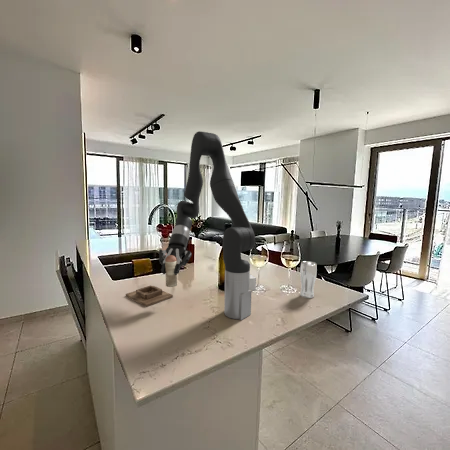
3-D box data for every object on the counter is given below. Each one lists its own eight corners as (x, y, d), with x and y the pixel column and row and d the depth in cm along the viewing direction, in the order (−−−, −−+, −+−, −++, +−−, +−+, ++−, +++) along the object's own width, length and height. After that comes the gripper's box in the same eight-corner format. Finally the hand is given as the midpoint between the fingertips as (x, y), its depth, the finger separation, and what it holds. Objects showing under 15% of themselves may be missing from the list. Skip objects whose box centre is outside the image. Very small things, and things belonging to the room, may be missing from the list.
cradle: (172, 297, 112) (172, 290, 112) (146, 307, 103) (146, 299, 102) (151, 288, 123) (151, 281, 122) (125, 296, 113) (125, 289, 113)
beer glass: (314, 293, 119) (316, 261, 117) (315, 299, 112) (317, 266, 110) (298, 291, 121) (300, 260, 119) (298, 297, 114) (300, 264, 112)
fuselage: (179, 284, 103) (178, 255, 102) (170, 287, 100) (169, 257, 99) (172, 282, 106) (171, 253, 105) (163, 285, 103) (162, 255, 102)
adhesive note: (255, 290, 122) (256, 277, 122) (244, 291, 120) (244, 279, 119) (250, 285, 128) (250, 274, 127) (239, 287, 126) (239, 275, 125)
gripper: (161, 232, 110) (148, 268, 99) (193, 233, 107) (184, 270, 97) (166, 242, 115) (155, 277, 105) (197, 243, 113) (189, 279, 102)
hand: (169, 273), depth 101 cm, fingers closed on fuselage, 4 cm apart
